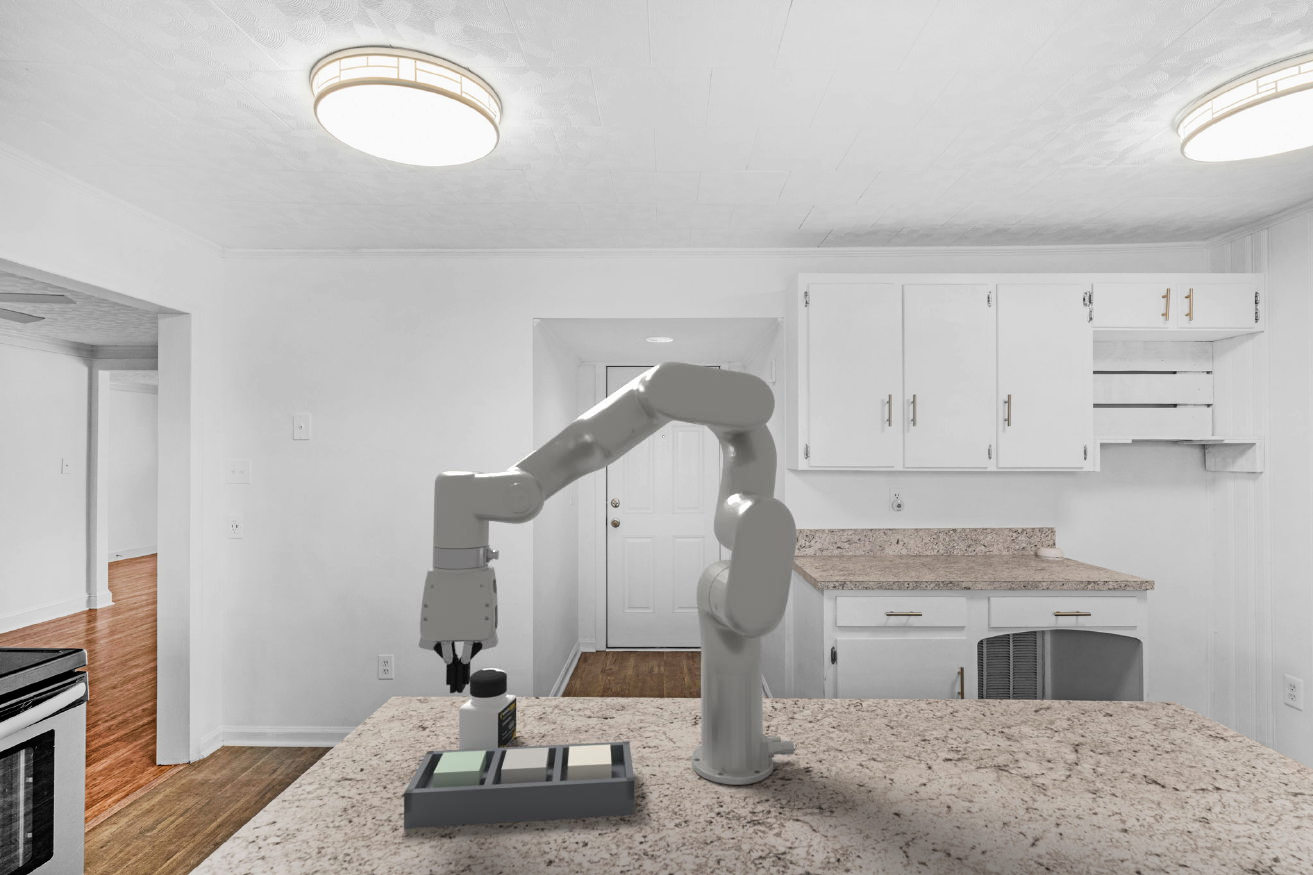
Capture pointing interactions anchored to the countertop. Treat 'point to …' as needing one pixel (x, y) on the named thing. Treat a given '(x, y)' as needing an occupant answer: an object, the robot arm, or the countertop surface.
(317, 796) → the countertop surface
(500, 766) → the grey compartment tray
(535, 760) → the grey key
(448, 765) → the sage key
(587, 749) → the cream key
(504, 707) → the medicine bottle
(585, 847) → the countertop surface
